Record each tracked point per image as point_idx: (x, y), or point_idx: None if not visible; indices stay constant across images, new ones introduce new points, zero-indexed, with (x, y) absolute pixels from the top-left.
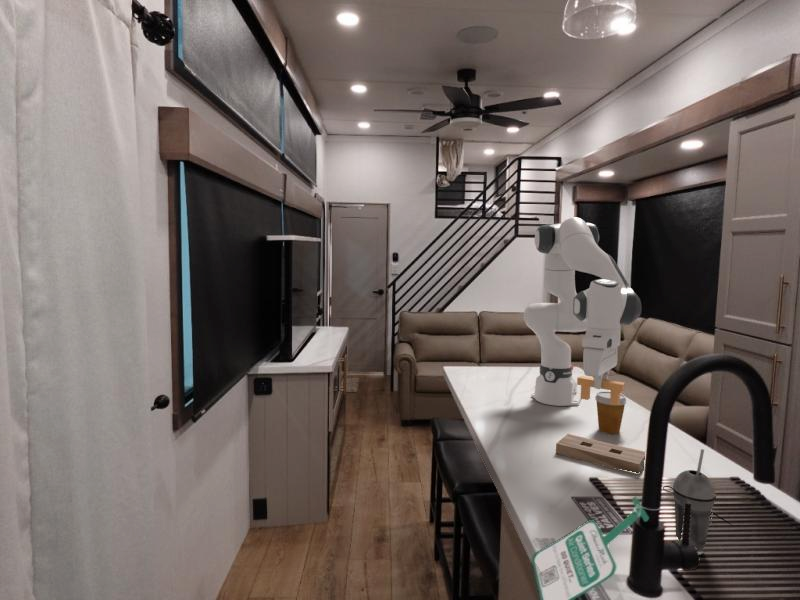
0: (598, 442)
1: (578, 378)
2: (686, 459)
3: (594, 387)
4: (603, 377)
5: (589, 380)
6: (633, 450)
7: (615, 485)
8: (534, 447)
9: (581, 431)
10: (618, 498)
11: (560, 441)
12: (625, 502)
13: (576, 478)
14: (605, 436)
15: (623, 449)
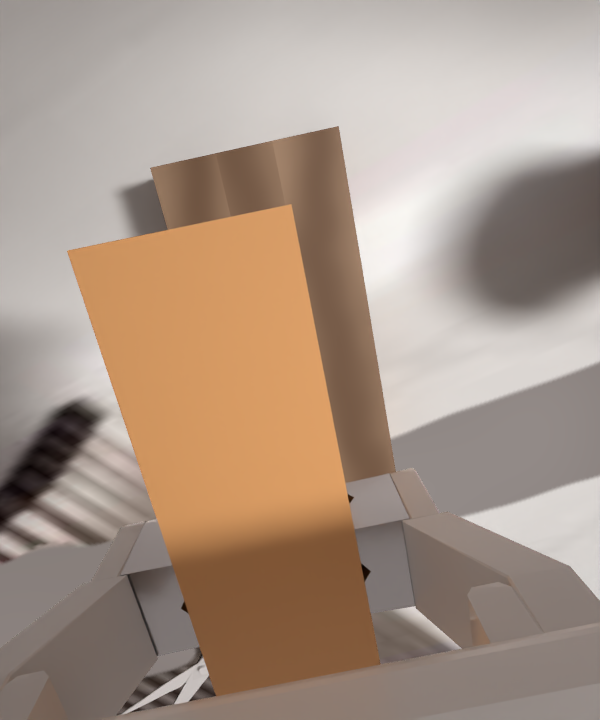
0: (345, 307)
1: (83, 271)
2: (531, 538)
3: (121, 528)
4: (431, 579)
5: (147, 466)
6: (374, 450)
7: (103, 483)
8: (138, 45)
9: (560, 90)
10: (26, 528)
11: (195, 167)
12: (22, 551)
13: (25, 373)
14: (571, 220)
15: (351, 420)
